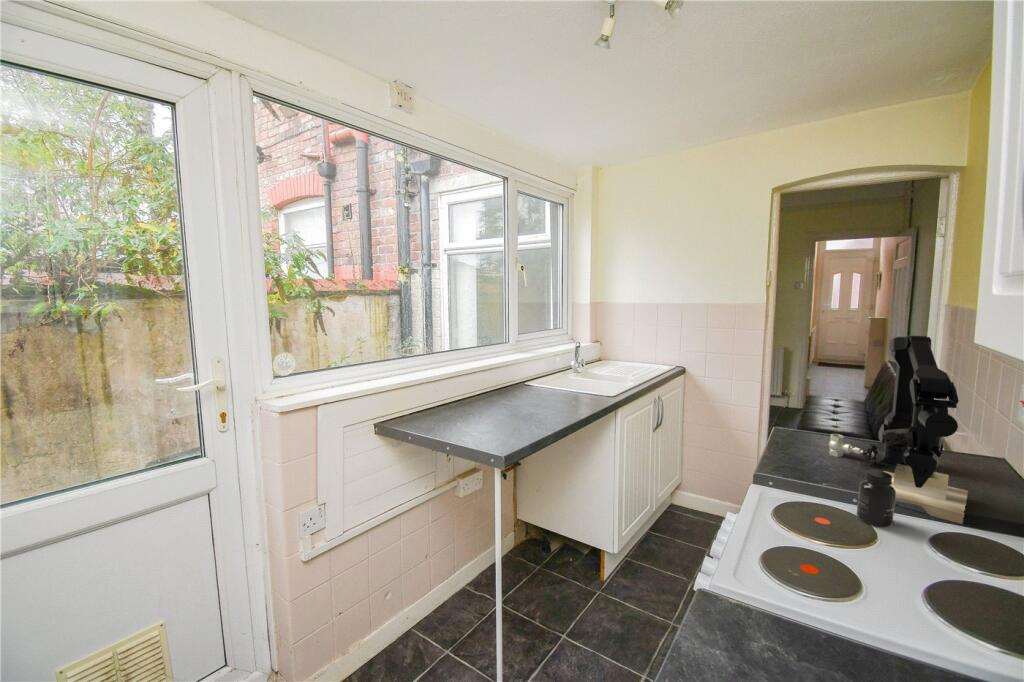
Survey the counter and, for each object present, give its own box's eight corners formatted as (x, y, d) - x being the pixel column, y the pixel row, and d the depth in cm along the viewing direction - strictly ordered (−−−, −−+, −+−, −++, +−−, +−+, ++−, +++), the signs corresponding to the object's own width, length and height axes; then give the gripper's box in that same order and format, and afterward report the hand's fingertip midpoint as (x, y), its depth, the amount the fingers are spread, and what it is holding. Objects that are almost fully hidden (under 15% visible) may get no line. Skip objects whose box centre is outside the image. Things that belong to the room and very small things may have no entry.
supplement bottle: (895, 531, 102) (900, 482, 101) (858, 523, 106) (862, 476, 104) (889, 517, 108) (894, 471, 106) (854, 510, 112) (858, 465, 110)
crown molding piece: (882, 479, 127) (883, 470, 127) (966, 499, 115) (968, 490, 114) (871, 498, 117) (872, 490, 117) (962, 524, 104) (963, 514, 104)
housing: (946, 493, 114) (948, 475, 113) (945, 500, 110) (947, 481, 110) (895, 481, 121) (897, 463, 120) (893, 487, 118) (894, 469, 117)
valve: (824, 455, 145) (868, 467, 135) (825, 436, 144) (870, 447, 134) (832, 450, 148) (877, 462, 138) (834, 431, 147) (878, 442, 137)
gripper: (892, 409, 125) (887, 461, 127) (879, 425, 113) (874, 483, 115) (947, 417, 117) (940, 473, 119) (940, 436, 104) (932, 498, 107)
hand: (920, 481), depth 115 cm, fingers open, 9 cm apart
